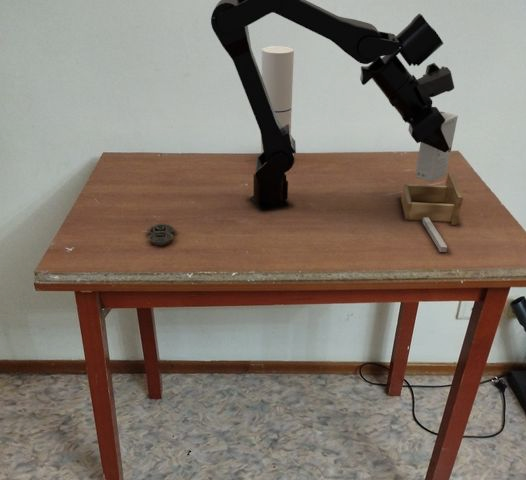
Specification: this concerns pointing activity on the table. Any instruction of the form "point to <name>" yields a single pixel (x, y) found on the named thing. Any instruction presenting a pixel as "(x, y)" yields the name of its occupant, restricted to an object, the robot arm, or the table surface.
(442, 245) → the ruler
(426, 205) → the wooden tray frame
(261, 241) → the table surface
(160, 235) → the corroded twin loop
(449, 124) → the cosmetic box
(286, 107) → the cylindrical container
